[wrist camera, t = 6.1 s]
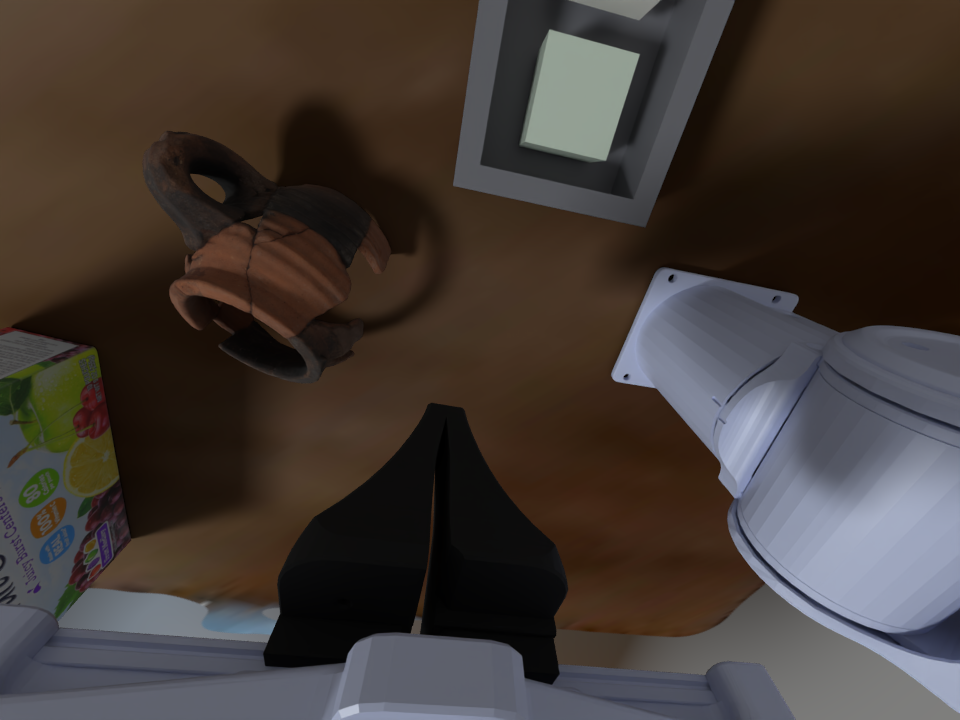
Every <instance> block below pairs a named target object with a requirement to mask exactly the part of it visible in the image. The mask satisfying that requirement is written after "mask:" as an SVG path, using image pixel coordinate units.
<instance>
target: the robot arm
mask: <svg viewBox="0 0 960 720" xmlns="http://www.w3.org/2000/svg"><path fill="white" fill-rule="evenodd" d="M672 274H673V275H674V277H673V279H672V280H671V281H668V278H669V276H670V275H672ZM775 296H776V298H775V299H774V300H773V301H772V299H773V298H774V297H775ZM798 301H799V298H798V296H797V295H795V294H792V293H788V292H783V291H779V290H774V289H769V288H764V287H759V286H754V285H749V284H744V283H740V282H735V281H730V280H725V279H720V278H715V277H710V276H705V275H700V274H696V273H691V272H686V271H681V270H676V269H671V268H666V267H662V268H660V269H658V270H657V271H656V272H655V274H654V276H653V279H652V281H651V283H650V285H649V288H648V290H647V292H646V295H645V297H644V299H643V302H642V304H641V306H640V308H639V311H638V313H637V315H636V318H635V320H634V322H633V325H632V327H631V329H630V332H629V334H628V336H627V338H626V341H625V343H624V345H623V348H622V350H621V352H620V355H619V357H618V359H617V362H616V364H615V366H614V368H613V371H612V374H611V376H612V378H613V379H614V380H615V381H617V382H622V383H628V384H634V385H640V386H646V387H652V388H657V389H658V391H659V392H660V393H661V394H662V395H663V396H664V397H665V399H666V400H667V401H668V402H669V403H670V404H671V406H672V407H673V408H674V409H675V410H676V411H677V412H678V414H679V415H680V416H681V417H682V418H683V419H684V421H685V422H686V423H687V424H688V425H689V426H690V428H691V429H692V430H693V431H694V432H695V433H696V434H697V436H698V437H699V438H700V439H701V440H702V441H703V443H704V444H705V445H706V446H707V447H708V448H709V449H710V451H711V452H712V453H713V454H714V455H715V456H716V458H717V459H718V460H719V461H720V464H721V472H720V474H719V477H718V478H719V479H720V481H721V482H722V483H723V484H724V486H725V487H726V488H727V489H728V491H729V492H730V493H731V494H732V495H733V497H734V498H735V499H734V500H733V502H732V504H731V506H730V508H729V510H728V519H727V521H728V527H729V531H730V534H731V536H732V539H733V541H734V543H735V545H736V546H737V548H738V550H739V552H740V553H741V554H742V556H743V557H744V559H745V560H746V561H747V563H748V564H749V565H750V566H751V568H752V569H753V570H754V571H755V572H756V573H757V574H758V576H759V577H760V578H761V579H762V580H763V581H764V582H765V583H767V584H768V585H769V586H770V587H771V588H772V589H773V590H774V591H775V592H776V593H777V594H779V595H780V596H781V597H782V598H784V599H785V600H786V601H787V602H788V603H790V604H791V605H793V606H794V607H795V608H797V609H798V610H800V611H801V612H803V613H804V614H805V615H807V616H808V617H810V618H812V619H813V620H815V621H817V622H819V623H820V624H822V625H823V626H825V627H827V628H829V629H831V630H833V631H835V632H837V633H839V634H841V635H843V636H845V637H847V638H849V639H851V640H853V641H855V642H857V643H859V644H861V645H863V646H865V647H867V648H869V649H870V650H872V651H874V652H876V653H877V654H879V655H881V656H882V657H884V658H885V659H887V660H888V661H890V662H892V663H893V664H894V665H896V666H898V667H899V668H900V669H902V670H903V671H904V672H906V673H907V674H909V675H910V676H911V677H912V678H914V679H915V680H916V681H918V682H919V683H920V684H922V685H923V686H924V687H925V688H927V689H928V690H929V691H931V692H932V693H933V694H934V695H936V696H937V697H938V698H940V699H941V700H942V701H943V702H945V703H946V704H947V705H949V706H950V707H951V708H952V709H954V710H955V711H956V712H958V713H960V336H957V335H952V334H947V333H942V332H936V331H930V330H924V329H917V328H909V327H900V326H884V325H879V326H868V327H864V328H860V329H857V330H853V331H847V332H842V333H839V332H837V331H835V330H832V329H830V328H828V327H825V326H823V325H821V324H818V323H816V322H814V321H811V320H809V319H807V318H804V317H802V316H800V315H797V314H795V313H793V312H792V311H793V309H794V308H795V306H796V305H797V303H798ZM626 374H629V375H628V376H627V377H624V375H626ZM623 377H624V378H623ZM434 473H435V491H434V524H433V537H432V545H431V553H430V561H429V569H428V577H427V585H426V593H425V600H424V608H423V616H422V623H421V631H420V634H410V633H411V629H412V626H413V623H414V619H415V615H416V611H417V607H418V603H419V598H420V594H421V590H422V586H423V582H424V578H425V573H426V569H427V562H428V553H429V542H430V524H431V508H432V496H433V484H434ZM277 586H278V596H279V605H280V615H279V618H278V620H277V622H276V625H275V627H274V629H273V632H272V634H271V636H270V638H269V641H268V643H262V642H249V641H235V640H222V639H208V638H194V637H181V636H168V635H153V634H140V633H125V632H113V631H98V630H86V629H72V628H59V625H58V622H57V619H56V618H55V616H54V615H53V614H52V613H51V612H50V611H48V610H45V609H43V608H40V607H35V606H27V605H15V604H2V603H0V720H796V719H795V717H794V716H793V714H792V712H791V711H790V709H789V707H788V706H787V704H786V702H785V701H784V699H783V698H782V696H781V694H780V692H779V691H778V689H777V688H776V686H775V684H774V682H773V681H772V679H771V677H770V676H769V674H768V672H767V671H766V669H765V667H764V666H763V665H761V664H757V663H744V662H731V661H729V662H720V663H717V664H715V665H713V666H712V667H711V668H710V669H709V670H708V671H707V673H706V675H698V674H684V673H670V672H657V671H644V670H630V669H617V668H602V667H589V666H576V665H562V664H558V661H557V655H556V650H555V644H554V639H553V638H555V636H556V626H555V621H554V616H555V614H556V612H557V611H558V609H559V607H560V606H561V604H562V602H563V601H564V599H565V597H566V594H567V591H568V585H567V579H566V575H565V571H564V568H563V565H562V562H561V559H560V556H559V554H558V551H557V548H556V545H555V544H554V543H553V542H552V541H551V540H550V539H549V538H547V537H546V536H545V535H544V534H543V533H542V532H541V531H540V530H539V529H538V528H537V527H535V526H534V525H533V524H532V523H531V522H530V521H529V519H528V518H527V517H526V516H525V515H524V514H523V513H522V512H521V511H520V510H519V509H518V507H517V506H516V505H515V504H514V503H513V501H512V500H511V499H510V498H509V497H508V495H507V494H506V493H505V491H504V490H503V489H502V487H501V486H500V484H499V483H498V481H497V480H496V478H495V477H494V475H493V474H492V472H491V470H490V469H489V467H488V465H487V464H486V462H485V460H484V458H483V456H482V454H481V452H480V450H479V448H478V446H477V444H476V441H475V439H474V437H473V434H472V432H471V429H470V427H469V424H468V421H467V418H466V414H465V411H464V409H463V408H460V407H454V406H448V405H441V404H435V403H430V404H428V406H427V409H426V411H425V413H424V415H423V417H422V419H421V420H420V422H419V424H418V425H417V427H416V428H415V430H414V431H413V432H412V434H411V435H410V437H409V438H408V439H407V440H406V442H405V443H404V444H403V445H402V447H401V448H400V449H399V450H398V451H397V452H396V453H395V455H394V456H393V457H392V458H391V459H390V460H389V461H388V462H387V463H386V464H385V465H384V466H383V467H382V468H381V469H380V470H379V471H377V472H376V473H375V474H374V475H373V476H372V477H371V478H370V479H368V480H367V481H366V482H365V483H364V484H362V485H361V486H360V487H358V488H357V489H356V490H354V491H353V492H352V493H350V494H349V495H348V496H346V497H345V498H344V499H342V500H341V501H339V502H338V503H336V504H334V505H333V506H331V507H330V508H328V509H326V510H325V511H323V512H322V513H320V514H318V515H317V516H315V517H314V518H313V519H312V521H311V522H310V523H309V525H308V526H307V527H306V528H305V530H304V531H303V533H302V534H301V536H300V537H299V538H298V540H297V542H296V543H295V545H294V546H293V548H292V550H291V552H290V553H289V555H288V557H287V560H286V562H285V564H284V566H283V568H282V570H281V572H280V574H279V577H278V583H277Z"/></svg>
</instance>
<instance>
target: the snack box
mask: <svg viewBox="0 0 960 720" xmlns="http://www.w3.org/2000/svg"><path fill="white" fill-rule="evenodd" d="M130 541H131V536H130V531H129V526H128V521H127V515H126V510H125V505H124V499H123V494H122V488H121V483H120V478H119V472H118V466H117V461H116V455H115V450H114V444H113V438H112V432H111V427H110V421H109V415H108V410H107V404H106V398H105V393H104V387H103V381H102V376H101V370H100V364H99V358H98V353H97V350H96V348H95V347H93V346H87V345H83V344H78V343H74V342H70V341H65V340H61V339H56V338H52V337H48V336H44V335H40V334H36V333H31V332H27V331H23V330H18V329H15V328H10V327H7V328H3V329H0V603H2V604H15V605H27V606H35V607H40V608H43V609H45V610H48V611H50V612H51V613H52V614H53V615H54V616H55V618H56V619H57V622H58V621H59V620H60V619H61V618H62V616H63V615H64V614H65V613H66V612H67V611H68V610H69V608H70V607H71V606H72V605H73V604H74V603H75V602H76V601H77V599H78V598H79V597H80V596H81V595H82V594H83V593H84V592H85V590H87V588H88V587H89V586H90V585H91V584H92V583H93V582H94V581H95V580H96V579H97V578H98V576H99V575H100V574H101V573H102V572H103V571H104V570H105V569H106V567H107V566H108V565H109V564H110V563H111V562H112V561H113V560H114V559H115V558H116V556H117V555H118V554H119V553H120V552H121V551H122V550H123V549H124V548H125V547H126V545H127V544H128V543H129V542H130Z"/></svg>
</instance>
